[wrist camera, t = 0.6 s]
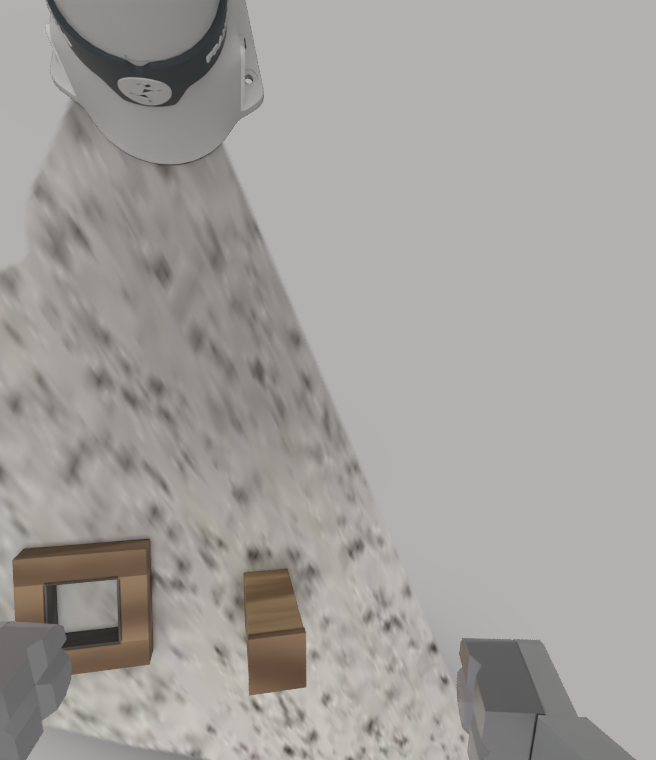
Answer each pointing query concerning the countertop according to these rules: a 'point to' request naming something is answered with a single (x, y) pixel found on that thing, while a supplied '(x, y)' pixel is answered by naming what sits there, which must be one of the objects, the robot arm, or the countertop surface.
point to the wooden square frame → (87, 564)
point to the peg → (273, 633)
